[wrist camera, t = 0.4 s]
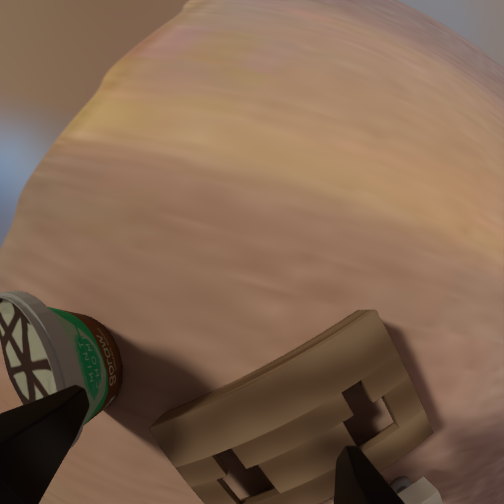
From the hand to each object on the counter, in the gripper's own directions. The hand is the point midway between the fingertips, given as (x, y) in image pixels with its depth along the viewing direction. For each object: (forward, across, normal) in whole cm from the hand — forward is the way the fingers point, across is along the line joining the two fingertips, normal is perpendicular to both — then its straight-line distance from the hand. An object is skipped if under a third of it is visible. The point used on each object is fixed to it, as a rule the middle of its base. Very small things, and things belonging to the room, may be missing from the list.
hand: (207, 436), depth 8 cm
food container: (+12, +12, +8) cm, 19 cm away
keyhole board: (+10, -6, +10) cm, 16 cm away
